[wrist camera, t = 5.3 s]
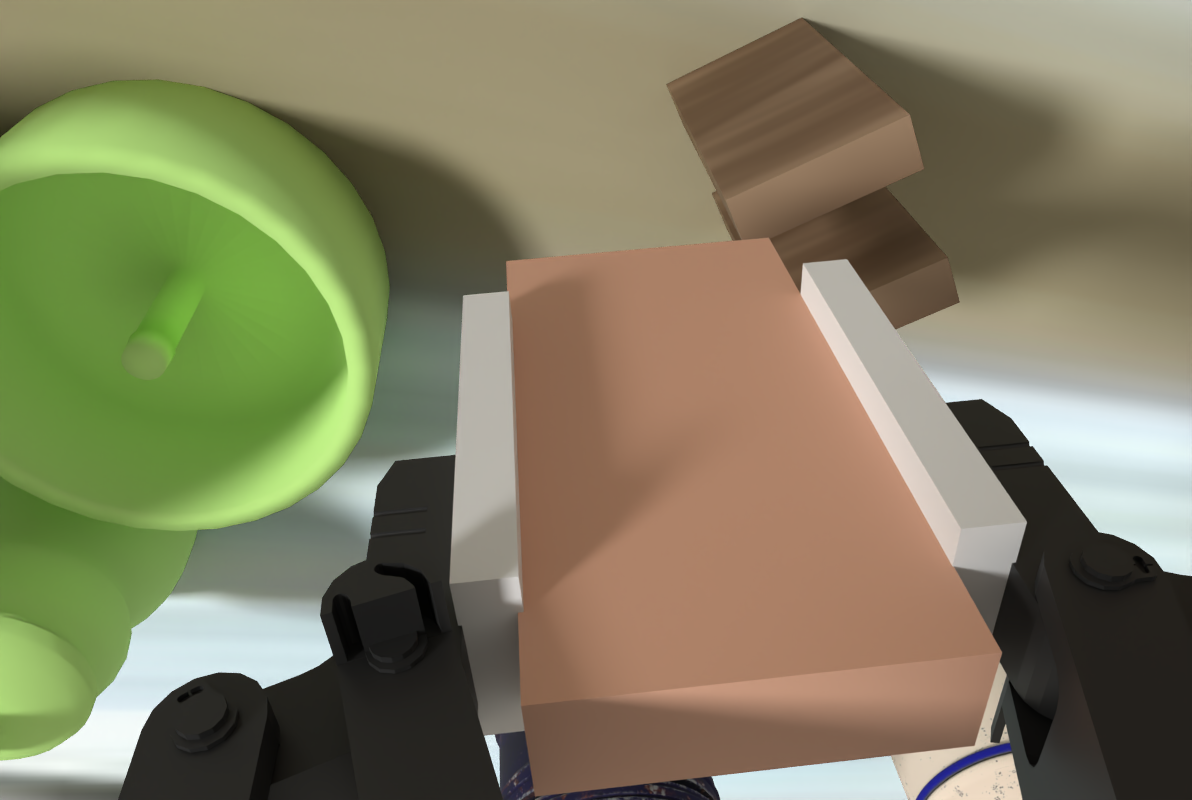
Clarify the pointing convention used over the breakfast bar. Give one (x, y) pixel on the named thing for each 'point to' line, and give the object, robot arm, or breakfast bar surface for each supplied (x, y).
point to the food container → (160, 363)
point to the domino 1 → (792, 130)
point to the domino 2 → (872, 254)
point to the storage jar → (517, 790)
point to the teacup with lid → (964, 765)
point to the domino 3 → (717, 534)
